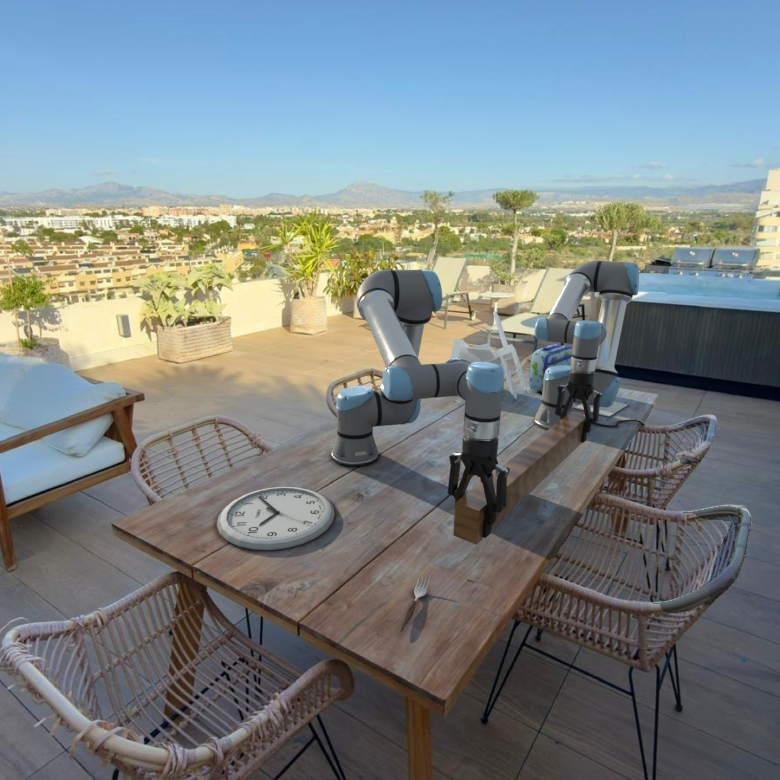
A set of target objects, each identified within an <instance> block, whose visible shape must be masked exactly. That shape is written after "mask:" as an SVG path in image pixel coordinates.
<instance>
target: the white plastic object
mask: <svg viewBox="0 0 780 780" xmlns="http://www.w3.org/2000/svg"><path fill="white" fill-rule="evenodd" d="M492 315H493V319H494V321H495V324H496V325H495V326H496V328H497V332H498V335H499V338H500V342H501V345H502V347H500V348H498V349H496V350H495V349H493V348H492V347H491V346H490V344H489V343H488V342H487V343H483V344H479V345H473V346H469V345H468V343H466V342H465V340H464V339H463V338H460V339H458V338H454V340H453V344H452V349H451V353H450V357H449V360H450V359H453V358H461V359H464V360H466V361H469V362H470V363H475V362H491V363H493V364H498V365H500V366H501V367H502V368H503V370H504V376H505V380H506V383H507V386H508V390H509V393H510V394H511V395H512V397H513V398H514V399H515V400H517V392H516V391H517V390H516V388H515V385H514V381H513V378H512V375H511V371H510V369H509V365H508V361H510V360H513V363H514V366H515V369H516V372H517V376H518V380H519V382H520V385H521V389H522V391H523V393H524V395H525V396H526V397H528V396H531V395H530V389H529V388H528V387H529V386H528V384H527V381H526V378H525V375H524V371H523V369H522V368H523V367H522V366H521V362H520V359H519V355H518V352H517V349H516V347H515V346H514V345H513V343H511V344H508V341H507V337H506V334H505V331H504V328H503V325H502V321H501V318H500V315H499V314H498V312H497V311H496V310H495V311H492Z"/></svg>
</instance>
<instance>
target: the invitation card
mask: <svg viewBox="0 0 780 780" xmlns="http://www.w3.org/2000/svg"><path fill="white" fill-rule="evenodd" d="M628 406H629V404H627V403H623V402H618V401H614V402H613V404H612V405H611V406H610V407H607V408H606V407H599V416H604V417H608V418H609V417H611V416H613V415H614V414H616V413H617V412H619V411H621V410H623V409H624V408H626V407H628ZM573 409H575V410H581V411H584V407H583V404H581V403H579V404H578V405H575V406H574V407H573ZM590 410H591V414H593V406H592V405H590Z"/></svg>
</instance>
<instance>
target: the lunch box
mask: <svg viewBox="0 0 780 780" xmlns="http://www.w3.org/2000/svg"><path fill="white" fill-rule="evenodd" d="M572 349H573V346H568V345H562V344H551V345H547V346H545V347H541V348H539V349H536V350H534V352H533V353H532V355H531V358H530V359H531V360H530V366H529V377H528V379H529V380H528V387H529V390H531V391H536V392H541V393H542V391H543V382H544V381H543V379H544V375H545V371H546V369H548V368H549V367H553V366H561V365H568V366H570V364H571V356H572Z"/></svg>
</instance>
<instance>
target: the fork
mask: <svg viewBox="0 0 780 780" xmlns="http://www.w3.org/2000/svg"><path fill="white" fill-rule="evenodd" d="M420 577H421V573H420V574H419V576H418V579H417V583H416V585H415V586H414V591H413V594H414V595H415V599H414V600H413V602H412V603H411V605H409V608H408V609H407V610H406V613H405V617H404V620H403V623H402V625H401V629H400V633H402V632H403V631H404V629H405V627H406V625H408V622H409V621H410V619H411V618H412V616H413V614H414V611H415V608H416V605H417V601H418V599H419V598H422V597H425V596H426V595H427V593H428V589H429V584H430V580H431V576H429V578H428V580H427V577H428V576H427V575H425V579H424V574H422V578H420ZM420 579H421V581H420ZM423 580H424V582H423ZM426 583H427V584H426Z"/></svg>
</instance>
